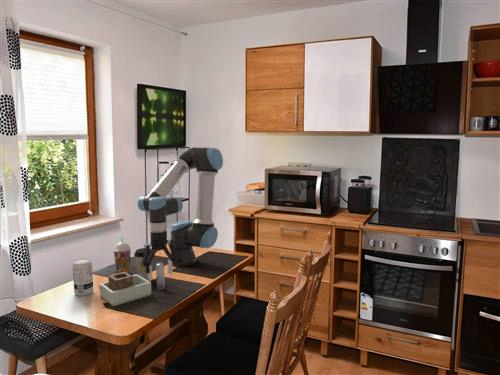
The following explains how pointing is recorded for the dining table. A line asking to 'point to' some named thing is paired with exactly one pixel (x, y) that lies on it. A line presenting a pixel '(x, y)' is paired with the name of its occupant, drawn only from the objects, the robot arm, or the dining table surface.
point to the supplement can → (82, 277)
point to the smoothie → (122, 257)
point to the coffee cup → (139, 257)
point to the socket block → (120, 281)
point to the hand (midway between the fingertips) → (160, 276)
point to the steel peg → (160, 276)
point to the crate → (126, 291)
